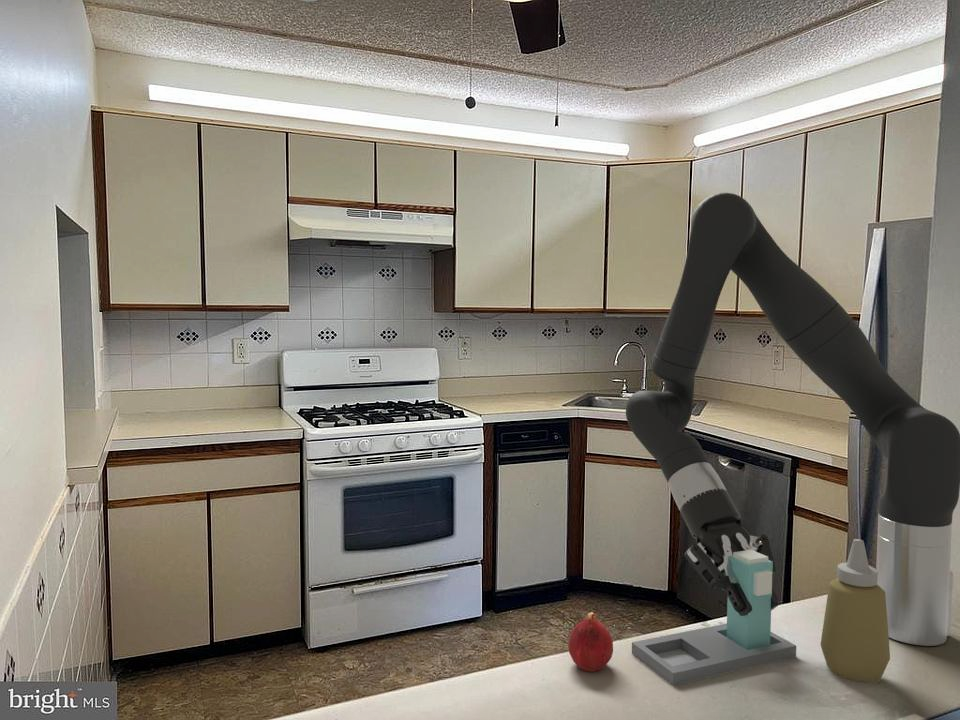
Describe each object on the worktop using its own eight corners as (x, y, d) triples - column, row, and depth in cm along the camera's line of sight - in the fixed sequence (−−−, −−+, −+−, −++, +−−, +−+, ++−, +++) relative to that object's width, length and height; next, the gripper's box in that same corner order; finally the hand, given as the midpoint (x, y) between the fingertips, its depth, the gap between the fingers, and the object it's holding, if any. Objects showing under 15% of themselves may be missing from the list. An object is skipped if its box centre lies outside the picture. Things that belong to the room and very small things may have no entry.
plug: (748, 635, 102) (751, 548, 101) (774, 650, 97) (777, 559, 96) (726, 640, 100) (728, 551, 99) (751, 655, 96) (753, 563, 95)
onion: (612, 686, 90) (613, 625, 90) (566, 682, 91) (567, 621, 91) (613, 664, 96) (614, 606, 95) (569, 660, 97) (570, 602, 97)
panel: (747, 635, 105) (748, 619, 105) (795, 663, 96) (796, 645, 96) (631, 660, 97) (631, 642, 97) (672, 692, 89) (673, 673, 89)
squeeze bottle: (904, 691, 89) (909, 550, 88) (841, 694, 89) (846, 551, 88) (864, 660, 97) (869, 530, 96) (807, 662, 97) (811, 531, 96)
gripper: (675, 491, 102) (732, 607, 91) (753, 482, 107) (816, 591, 97) (652, 517, 107) (704, 630, 97) (728, 508, 112) (784, 614, 102)
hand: (759, 610), depth 97 cm, fingers closed on plug, 4 cm apart
